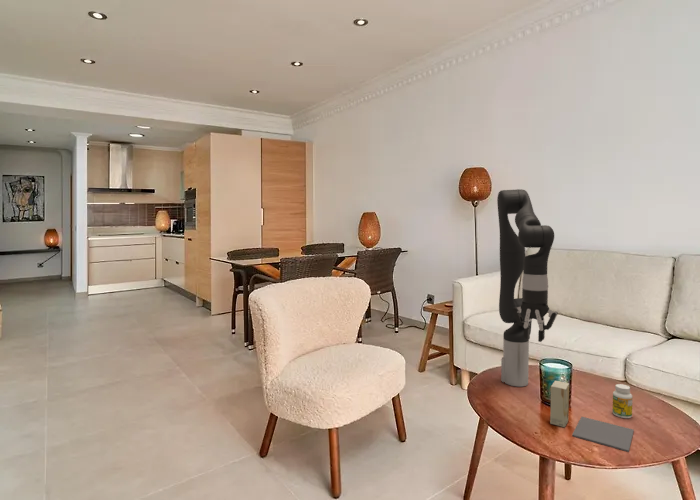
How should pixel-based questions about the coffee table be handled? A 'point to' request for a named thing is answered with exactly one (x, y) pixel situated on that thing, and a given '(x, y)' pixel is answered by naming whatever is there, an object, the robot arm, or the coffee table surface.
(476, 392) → the coffee table surface
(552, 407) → the skincare box
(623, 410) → the supplement bottle
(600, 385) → the coffee table surface
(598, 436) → the mat
